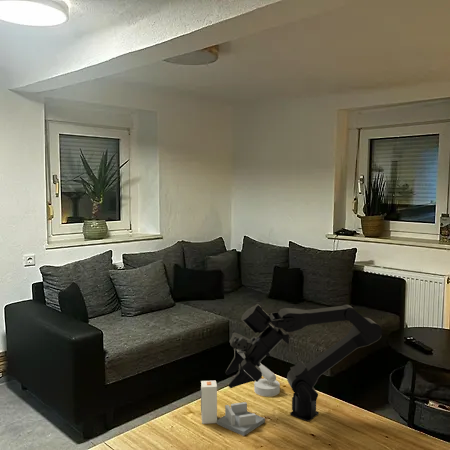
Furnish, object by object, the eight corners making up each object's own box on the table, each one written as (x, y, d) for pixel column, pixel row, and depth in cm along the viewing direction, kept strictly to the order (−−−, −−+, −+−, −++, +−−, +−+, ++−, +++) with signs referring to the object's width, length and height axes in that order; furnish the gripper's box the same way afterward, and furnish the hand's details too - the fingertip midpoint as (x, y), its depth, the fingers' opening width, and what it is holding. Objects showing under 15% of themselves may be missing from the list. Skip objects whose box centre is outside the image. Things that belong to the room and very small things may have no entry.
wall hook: (259, 356, 163) (284, 362, 157) (259, 382, 164) (284, 389, 158) (245, 363, 156) (271, 370, 150) (245, 390, 157) (271, 399, 151)
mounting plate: (265, 421, 136) (265, 408, 136) (243, 436, 128) (243, 421, 128) (238, 410, 143) (238, 397, 142) (216, 423, 135) (216, 410, 135)
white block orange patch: (216, 415, 140) (215, 379, 139) (217, 422, 136) (216, 385, 135) (200, 416, 140) (200, 380, 139) (201, 423, 135) (201, 386, 134)
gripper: (241, 315, 146) (206, 350, 146) (250, 334, 127) (210, 375, 127) (266, 339, 147) (231, 374, 147) (278, 361, 128) (238, 401, 128)
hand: (227, 380), depth 137 cm, fingers open, 9 cm apart
